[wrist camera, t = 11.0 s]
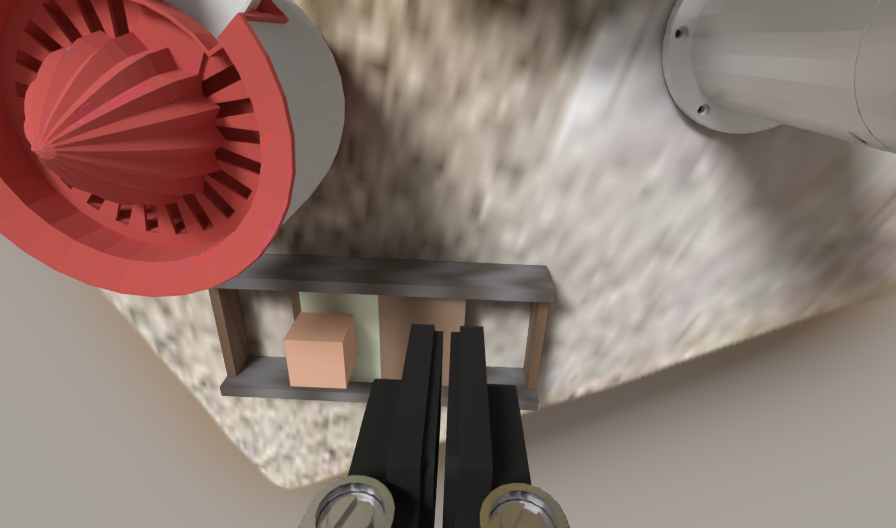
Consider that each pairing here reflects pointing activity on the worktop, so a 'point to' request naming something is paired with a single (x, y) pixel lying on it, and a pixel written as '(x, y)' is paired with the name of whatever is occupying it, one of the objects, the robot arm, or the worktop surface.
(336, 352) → the terracotta block
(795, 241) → the worktop surface
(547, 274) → the box
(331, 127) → the citrus juicer
